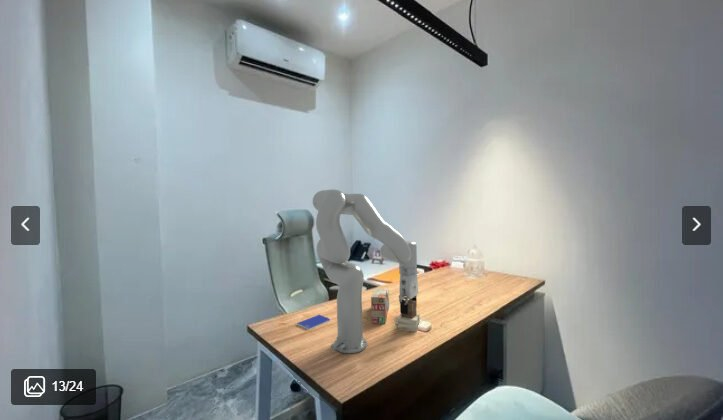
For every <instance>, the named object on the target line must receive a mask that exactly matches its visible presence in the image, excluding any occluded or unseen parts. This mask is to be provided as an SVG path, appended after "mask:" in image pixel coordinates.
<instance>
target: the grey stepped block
mask: <svg viewBox="0 0 723 420" xmlns="http://www.w3.org/2000/svg"><path fill="white" fill-rule="evenodd" d="M416 313H417V315H416V316H415V317H414V318H413V319H410V318H405V317H401V313H399V315H398V317H397V330H400V331H408V332H415V333H418V330H419V328H418V325H419V323H420V324H421V321H420V320H421V317H420V316H421V315H420V313H419V312H416ZM419 326H420V325H419Z"/></svg>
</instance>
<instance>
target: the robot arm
mask: <svg viewBox="0 0 723 420" xmlns="http://www.w3.org/2000/svg"><path fill="white" fill-rule="evenodd" d="M312 205H313V207H314V209H315V210H316V211H317V214H316V219H315V227H316V231H317V234H318V236H319V240H318V241H317V243H316V254H317V257H318V260H319V262H320V264H321V266H322V269H323V270H324V272H325V275H326V277H328V279H329V280H330V281H331V283H334V284H336V285H337V286H338V291H337V294H336V295H337V296H336V317H337V318H336V320H337V321H336V322H337V323H336V325H337V336H336V339H335V340H334V341H333V344H332V345H330V350H332V351H337V352H339V353H342V354H356V353H359V352H362V351H364V350H365V349H366V347H367V346H368V341H367V339H366V338H365V337H364V336H363V333H364V332H363V299H362V298H363V286H364V280H365V279H364V272H363V270H362V268H361V267H360V266H358V265H357V264H355V263H352V262H349V261H348V260H349V259H350V258H351V257H350V256H351V249H350V246H349V243H348V242H347V241H348V240H347V238H346V237H345V234H344V232H343V230H342V229H343V228H342V227H341V221H340V219H341V215H346V216H347V215H349V216H353V218H354V219H355V220H356V221H357V223H358V224H359V225H360V227H361V228H362V229H363V231H364V232H365V233H366V234H367V235H368V236H370V237H371V238H372V239H373V240H374V239H375V240H377V241H379V242H380V243H381V244H383V245H381V247H380V250H379V253H380V255H381V257H382V258H383V259H385V260H386V261H390V262H395V263H398V270H399V271H398V272H399V273H398V274H399V275H400V276H399V294H398V302H399V305H400V306H399V307H400V308H399V309H400V311H399V312H400V313H399V314H401V313H403V314H408V304H407V301H408V300H412V301H416V307H417V305H418V303H417V302H418V301H417V297H418V294H419V285H418V284H419V283H418V259H417V258H418V255H417V254H418V253H417V251H418V250H417V243H416V242H414V241H410V240H407V241H406V240H405V238H404V237H403V235H401V234H400V233H399V232H398V231H397V230H396V229H394V227H392V226H391V225H390V224H388V222H386V221H385V220H384V219H383V218H382V216H381V215H380V214H379V212H378V211H377V209H376V207H375V206H374V205H373V203H372V202H371V200H370V199H369V198H368V197H367V196H366V195H365V194H362V193H343V192H342V191H341V190H339V189H325V190H323V189H322V190H319V191H317V192H316V193H315V194H314V195H313V197H312ZM405 299H406V300H405ZM404 300H405V301H404Z"/></svg>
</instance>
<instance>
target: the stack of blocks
mask: <svg viewBox="0 0 723 420" xmlns="http://www.w3.org/2000/svg"><path fill="white" fill-rule="evenodd" d="M389 290H390V289H389V288H374V289H373V293H372V294H371V296H370V300H371V301H370V303H371V306H370V307H371V308H370V309H371V324H379V325H386V322H387V319H388V313H389V309H390V294H389V293H390V292H389Z"/></svg>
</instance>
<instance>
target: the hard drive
mask: <svg viewBox="0 0 723 420" xmlns="http://www.w3.org/2000/svg"><path fill="white" fill-rule="evenodd" d="M330 321H331V319H330V318H329V317H326V316H324V315H321V314H318V315H314V316H311V317H309V318H307V319H305V320H302V321H299V322H298V323H297V326H299V327H301V328H303V329H306V330H307V331H310V330H312V329H314V328H316V327H319V326H323V325H324V324H326V323H328V322H330Z"/></svg>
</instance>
